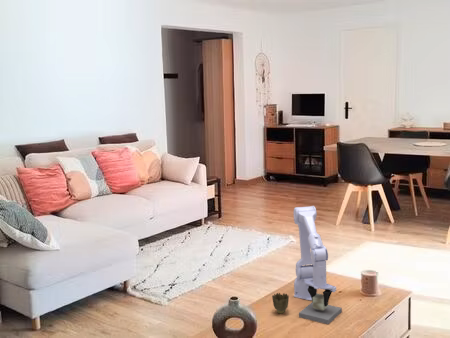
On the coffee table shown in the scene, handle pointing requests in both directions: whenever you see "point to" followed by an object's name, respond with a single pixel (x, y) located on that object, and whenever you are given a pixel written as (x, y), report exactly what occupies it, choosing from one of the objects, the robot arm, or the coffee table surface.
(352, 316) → the coffee table surface
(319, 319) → the charcoal base
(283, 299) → the cup
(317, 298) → the sage block
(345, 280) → the coffee table surface
